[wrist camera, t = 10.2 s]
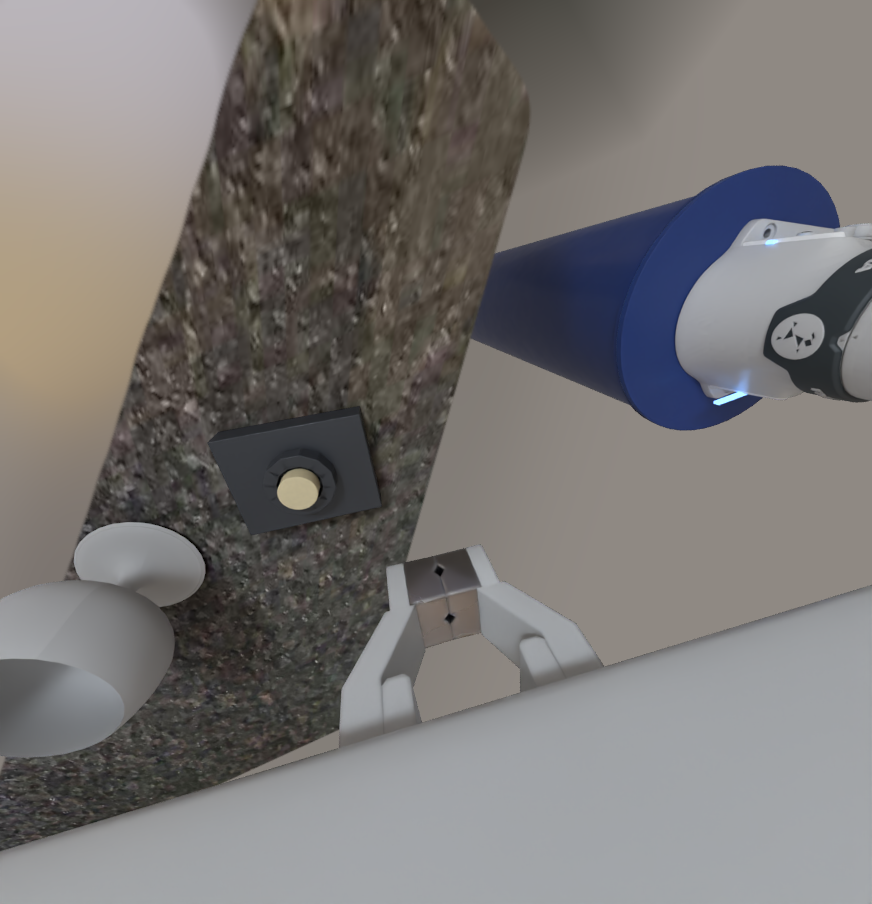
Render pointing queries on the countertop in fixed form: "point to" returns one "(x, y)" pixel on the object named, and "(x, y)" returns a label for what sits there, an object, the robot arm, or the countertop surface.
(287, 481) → the push button switch
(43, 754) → the chalice
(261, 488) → the push button plate
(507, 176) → the countertop surface
